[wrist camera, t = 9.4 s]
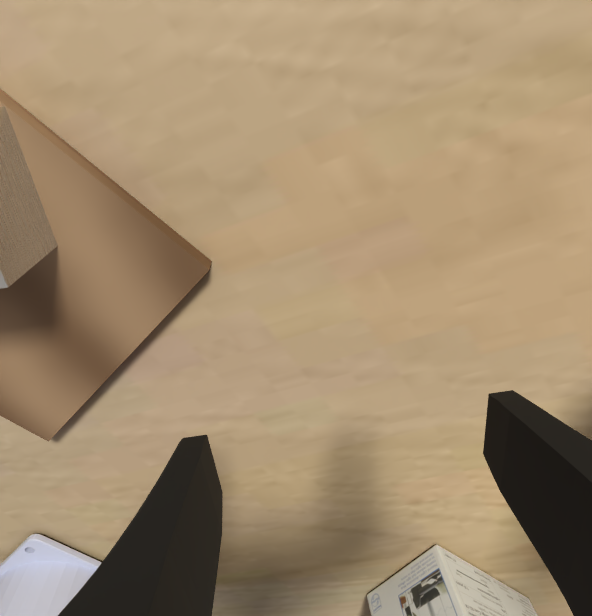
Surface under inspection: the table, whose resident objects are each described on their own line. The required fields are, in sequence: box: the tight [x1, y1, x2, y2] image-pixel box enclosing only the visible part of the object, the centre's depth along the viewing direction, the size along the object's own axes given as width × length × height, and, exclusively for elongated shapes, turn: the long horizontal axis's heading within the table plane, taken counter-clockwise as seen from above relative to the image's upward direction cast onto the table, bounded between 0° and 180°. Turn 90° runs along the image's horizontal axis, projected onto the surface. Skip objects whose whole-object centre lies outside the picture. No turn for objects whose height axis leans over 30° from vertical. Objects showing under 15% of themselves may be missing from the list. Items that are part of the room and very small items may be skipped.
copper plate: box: [0, 89, 212, 441], centre depth 19 cm, size 12×12×1 cm
